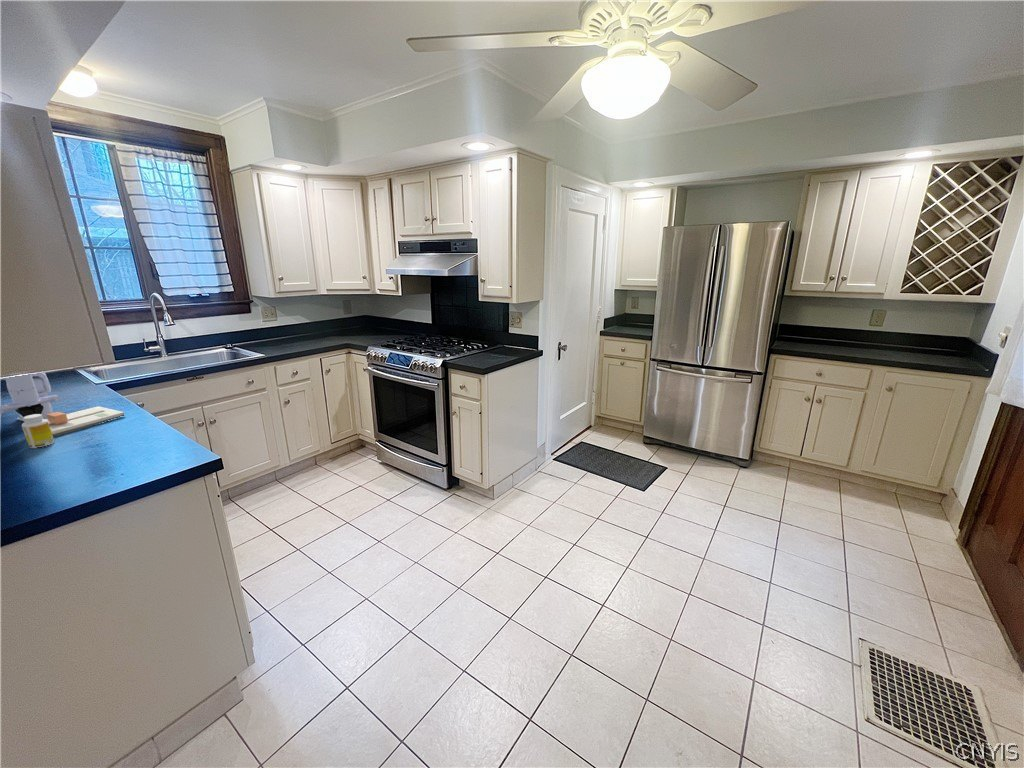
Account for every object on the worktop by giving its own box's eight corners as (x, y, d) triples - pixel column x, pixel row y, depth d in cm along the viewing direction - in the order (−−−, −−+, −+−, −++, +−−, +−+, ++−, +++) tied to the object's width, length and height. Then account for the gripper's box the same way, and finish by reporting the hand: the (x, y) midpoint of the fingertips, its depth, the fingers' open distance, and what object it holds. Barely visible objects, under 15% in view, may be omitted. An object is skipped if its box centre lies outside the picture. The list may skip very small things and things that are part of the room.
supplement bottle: (60, 441, 134) (50, 412, 131) (43, 449, 129) (33, 419, 126) (41, 441, 134) (31, 413, 131) (23, 449, 129) (13, 419, 126)
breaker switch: (49, 424, 144) (46, 414, 142) (60, 421, 146) (57, 411, 145) (57, 427, 142) (54, 416, 141) (69, 424, 145) (65, 413, 144)
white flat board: (28, 429, 143) (26, 423, 142) (99, 410, 161) (98, 405, 160) (54, 436, 138) (52, 431, 137) (125, 416, 156) (123, 411, 155)
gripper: (-4, 397, 127) (10, 436, 131) (59, 384, 140) (70, 421, 144) (-16, 394, 129) (-1, 433, 133) (47, 382, 142) (59, 418, 146)
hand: (35, 426), depth 139 cm, fingers closed
